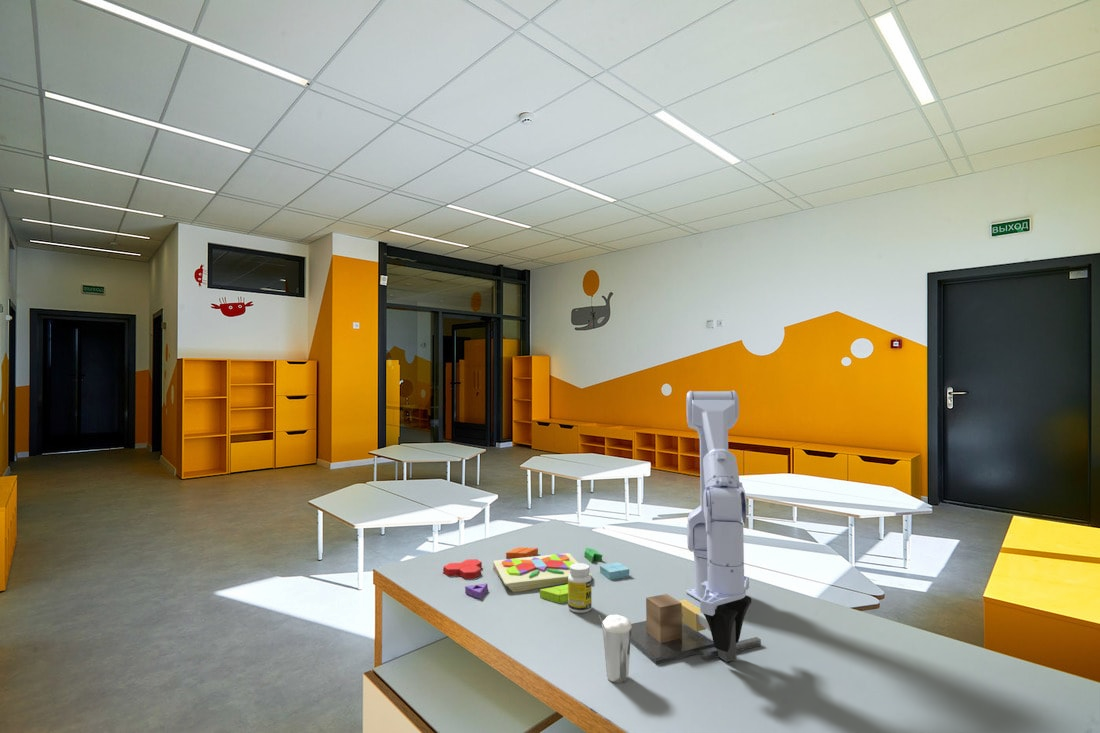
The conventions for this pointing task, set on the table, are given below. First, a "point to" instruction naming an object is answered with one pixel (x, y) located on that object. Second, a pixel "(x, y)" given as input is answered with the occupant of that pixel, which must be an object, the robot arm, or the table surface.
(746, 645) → the press base
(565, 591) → the pattern blocks set
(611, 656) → the milkshake
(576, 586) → the supplement bottle
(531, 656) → the table surface
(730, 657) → the lever with yellow grip
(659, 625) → the brown rectangular block
